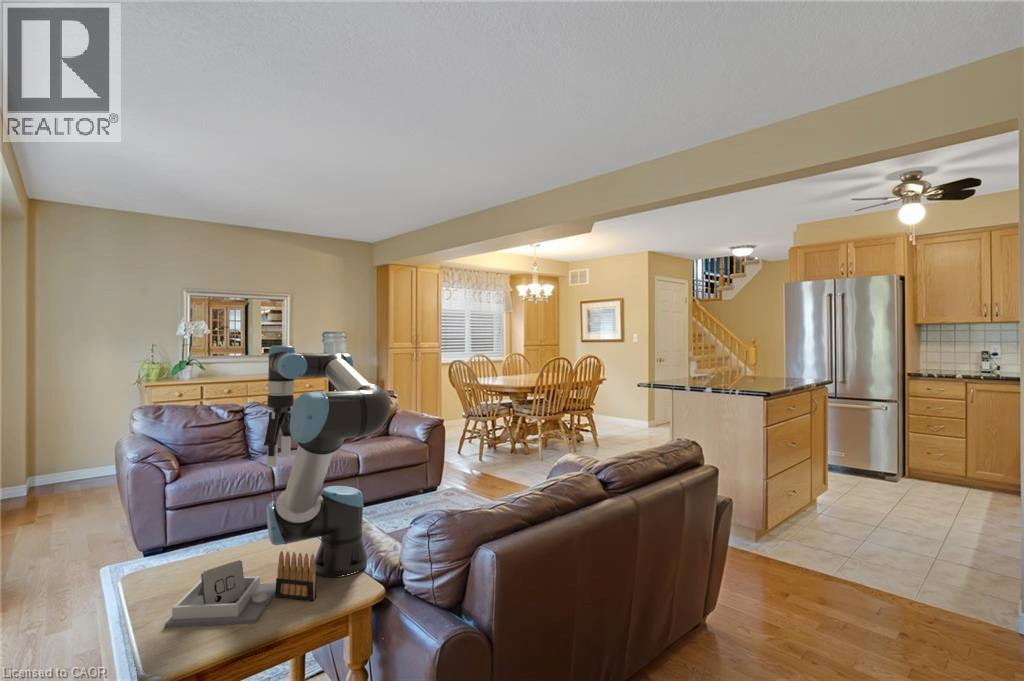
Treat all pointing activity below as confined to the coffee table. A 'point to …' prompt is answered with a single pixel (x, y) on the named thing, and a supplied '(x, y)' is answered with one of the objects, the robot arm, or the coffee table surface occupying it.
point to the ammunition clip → (296, 578)
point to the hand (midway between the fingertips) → (279, 461)
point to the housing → (223, 606)
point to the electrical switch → (223, 583)
